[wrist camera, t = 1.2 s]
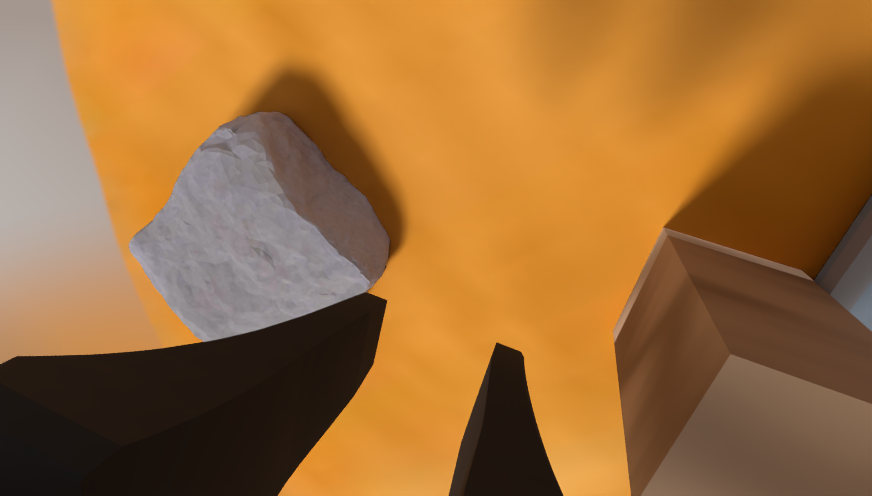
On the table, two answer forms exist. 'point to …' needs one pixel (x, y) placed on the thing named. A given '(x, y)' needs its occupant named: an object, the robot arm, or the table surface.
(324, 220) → the stone block
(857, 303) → the tipping mat
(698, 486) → the walnut block
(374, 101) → the table surface
